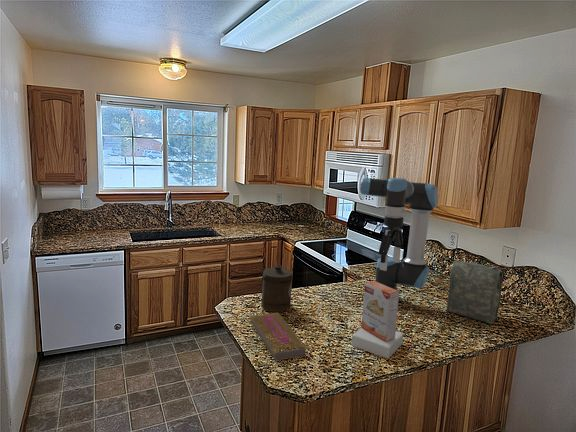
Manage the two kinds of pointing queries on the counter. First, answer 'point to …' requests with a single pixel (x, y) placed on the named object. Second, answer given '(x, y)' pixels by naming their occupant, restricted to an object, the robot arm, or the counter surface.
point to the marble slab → (376, 343)
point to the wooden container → (276, 289)
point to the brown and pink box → (278, 336)
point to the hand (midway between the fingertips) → (389, 265)
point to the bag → (475, 291)
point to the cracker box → (380, 310)
